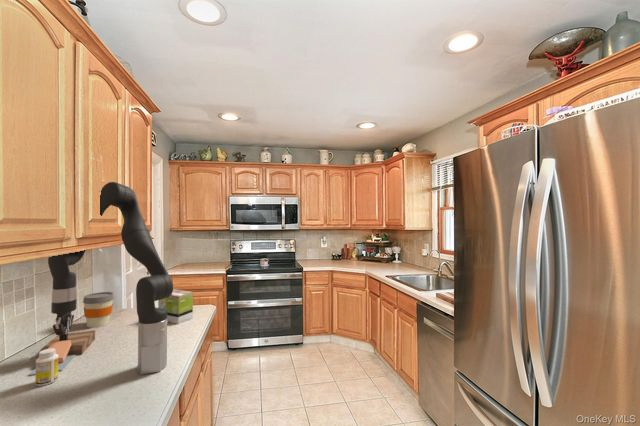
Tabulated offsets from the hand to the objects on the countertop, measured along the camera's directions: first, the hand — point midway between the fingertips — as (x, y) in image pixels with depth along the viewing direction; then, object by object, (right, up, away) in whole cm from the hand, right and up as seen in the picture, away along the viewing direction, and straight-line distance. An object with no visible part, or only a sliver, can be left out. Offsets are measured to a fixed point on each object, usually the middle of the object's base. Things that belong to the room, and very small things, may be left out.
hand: (63, 343), depth 117 cm
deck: (-3, -5, +6) cm, 8 cm away
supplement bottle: (+11, -5, -19) cm, 22 cm away
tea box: (+23, -6, +43) cm, 49 cm away
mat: (+3, -5, -7) cm, 9 cm away
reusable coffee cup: (-12, -6, +35) cm, 37 cm away
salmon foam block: (+1, -2, -4) cm, 5 cm away
